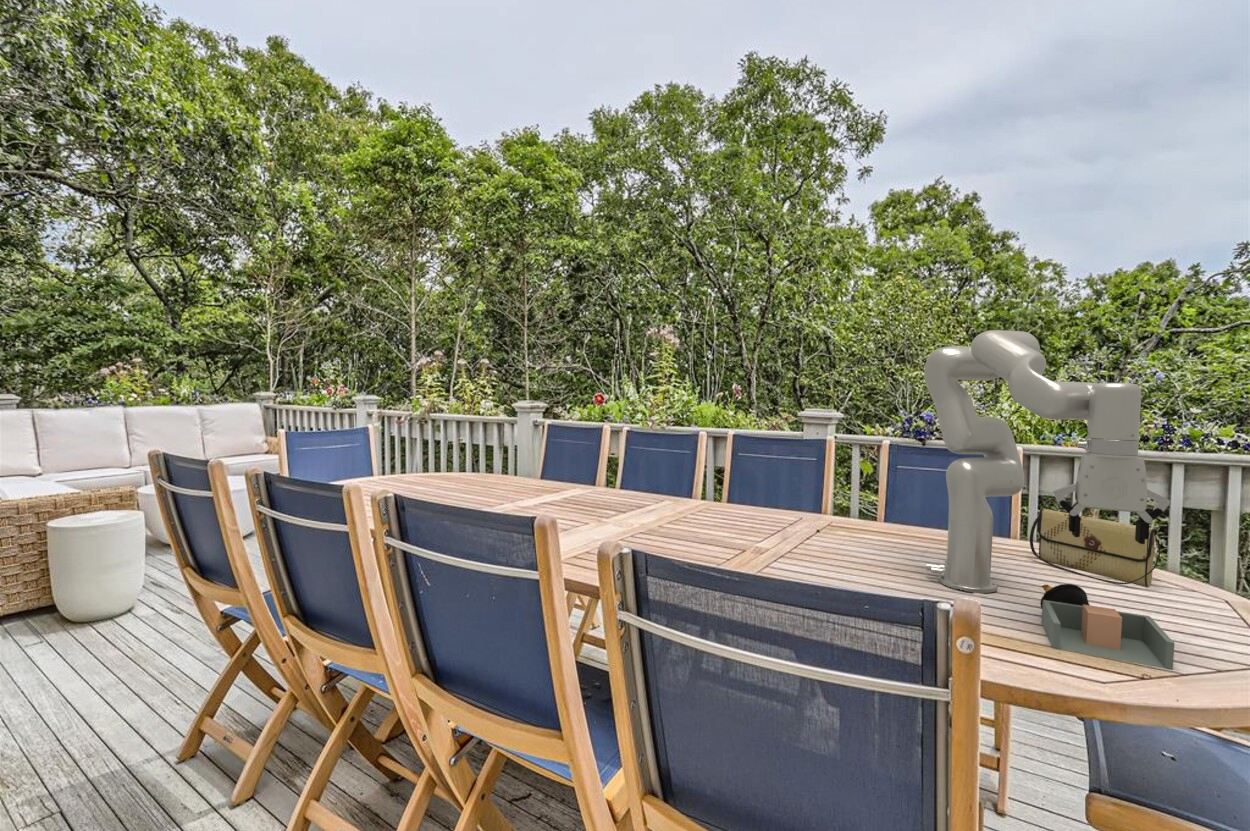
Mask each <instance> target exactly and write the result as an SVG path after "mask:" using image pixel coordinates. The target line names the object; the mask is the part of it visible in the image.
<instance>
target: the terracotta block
mask: <svg viewBox="0 0 1250 831" xmlns="http://www.w3.org/2000/svg"><path fill="white" fill-rule="evenodd" d="M1117 611H1118V610H1116V609H1115V608H1110V607H1104V606H1103V607H1102V606H1095V605H1091V604H1089V605H1084V604H1083V611H1082V627H1081V635H1082V637H1083V639H1084V640H1085V642H1086V644H1090V645H1095V646H1101V647H1107V648H1112V649H1118V650H1120V644H1121V628H1122V617H1121V616H1120V615H1119V613H1118V612H1117Z"/></svg>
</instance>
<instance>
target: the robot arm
mask: <svg viewBox="0 0 1250 831" xmlns="http://www.w3.org/2000/svg"><path fill="white" fill-rule="evenodd" d="M1040 351H1041V347H1040V342H1039V340H1038V339H1037V338H1036V336H1034V335H1033V334H1031V333H1030V332H1026V331H1022V330H1002V329H994V330H993V329H992V330H986V331H983V332H981V333H979V334H977V335H976V336H975V337H974V338H973V339H972V341H971V343H970V346H964V345H963V346H960V345H953V346H943V347H939V348H937V349H935V350H933V351H932V352H931V353H930V354H929V355H928V357H927V359H926V361H925V364H924V371H923V372H924V375H923V376H924V380H925V381H924V383H925V385H926V388H927V390H928V392H929V396H930V397H931V399H932V402H933V404H934V407H935V411H936V416H937V420H938V423H939V427H940V431H941V436H942V439H943V443H944V446H945V447H946V449H947V450H948V451H949V452H951V453H954V454H957V455H983V457H963V458H959V459H955V460H954V461H952V462H951V463H950V464H949V465H948V466H947V468H946V472H945V482H946V486H947V488H946V489H947V493H948V526H947V527H948V528H947V529H948V530H947V544H946V545H947V548H946V560H945V561H944V563H940V564H936V563H933V562H926V565H925V567H926V568H925V569H926V571H929V572H931V573H932V574H939V575H938V581H939V583H941V584H942V585H943V586H945V585H946V587H948V588H950V587H951V589H954V590H957V589H960V590H959V591H962V590H964V591H963V592H967V593H974V592H975V594H977V593H978V594H991V593H994V592H997V591H998V583H997V582H995V581H993V580H992V579H991V574H992V573H991V571H992V569H991V568H992V552H993V531H994V530H993V529H994V515H993V510H992V508H991V506H990V505H989V503H988V501H987V498H989V497H1011V496H1015V495H1017V494H1018V493H1020V491H1022V489H1023V487H1024V485H1025V484H1024V483H1025V474H1024V473H1025V472H1024V468H1023V465H1022V461H1021V458H1020V454H1019V451H1018V448H1017V444H1016V441H1015V437H1014V434H1013V432H1012V429H1011V428H1010V426H1009V425H1008V424H1007V422H1006V421H1004V420H1002V419H1001V418H999V417H993V416H980V415H978V413H977V412H976V409H975V407H974V406H975V405H974V403H973V400H972V397H971V395H970V394H969V393H968V391H967V389H966V388H964V386H962V385H961V384H960V383H959V382H958V381H959V380H960V381H961V380H962V381H991V380H995V379H998V378H1002V379H1003V380H1004V381H1006V382H1008V383H1007V384H1008V385H1007V386H1008V389H1009V392H1010V395H1011V397H1012V399H1013V400H1014V401H1015V402H1016V403H1017V404H1018V405H1020V406H1021V407H1023V408H1024V409H1026V410H1028V411H1029V412H1031V413H1032V414H1034V415H1036V416H1037V417H1040V418H1043V419H1047V420H1073V421H1087V436H1086V439H1085V440H1077V449H1082V450H1085V452H1086V453H1082V454H1081V457H1080V462H1079V465H1078V469H1077V474H1076V475H1077V476H1076V480H1075V481H1076V482H1075V483H1072V484H1069V485H1066V486H1063V487H1060V488H1057V489H1054V490H1053V491H1052V493H1053V495H1054V497H1055V499H1056V501H1057V503H1058V505H1059V506H1060V507H1061V508H1062V509H1064V510H1065V511H1066V513H1069V531H1070V532H1072V535H1073V536H1074V537H1080V521H1081V518H1080V517H1079V515H1080V513H1081V512H1083V511H1084V510H1085V509H1086V508H1088V509H1092V510H1093V509H1094V510H1105V511H1114V512H1115V511H1117V512H1128V513H1135V514H1136V516H1137V517H1138V519H1137V520H1136V521H1135V526H1136V531H1135V540H1136V541H1137V542H1138V543H1140V544H1145V539H1148V538H1149V528H1150V524H1152V522H1153V521H1154V520H1156V519H1157V518H1158V517H1160V516H1162V515H1163V513H1164V512H1165V511H1166V509H1167V508H1168V507H1169V506H1170V504H1171V500H1169V499H1168V498H1166V497H1165V496H1162V495H1160V494H1158V493H1156V492H1153V491H1151V490H1149V489H1148V482H1147V481H1148V480H1147V469H1146V468H1147V467H1146V464H1145V458H1143V457H1139V456H1138V455H1139V443H1140V441H1139V440H1140V425H1141V424H1140V422H1141V409H1142V408H1141V406H1142V404H1141V403H1142V389H1141V387H1140V385H1138V384H1136V383H1131V382H1099V383H1098V382H1089V381H1087V382H1086V381H1056V380H1055V381H1054V380H1052V379H1051V380H1050V379H1048V378H1047V377H1045V376H1043V374H1044V373H1045V371H1046V368H1047V359H1046V358H1045V356H1044V355H1043V353H1041V352H1040ZM1071 493H1074V499H1075V502H1074V503H1073V504H1072V505H1070V504H1069V503H1068V501H1067V500H1066V498H1065V496H1066V495H1068V494H1071ZM1148 498H1149V499H1151V500H1153V501H1155V506H1154V507H1152V508H1150V509H1149V510H1147V511H1146V509H1147V507H1148Z"/></svg>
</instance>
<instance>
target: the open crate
mask: <svg viewBox="0 0 1250 831" xmlns="http://www.w3.org/2000/svg"><path fill="white" fill-rule="evenodd" d="M1082 611H1083V606H1080V605H1074V604H1067V603H1061V602H1054V601H1047V600H1043V604H1042V609H1041V625H1042V627H1043V629H1044V631H1045V634H1046V636H1047V639H1048V641H1049V642H1050V646H1051V648H1052V649H1054V650H1062V651H1065V652H1071V653H1072V652H1073V653H1078V654H1083V655H1088V656H1094V657H1099V658H1106V659H1111V660H1114V661H1115V660H1116V661H1122V662H1125V663H1133V664H1139V665H1143V666H1147V667H1154V668H1160V669H1166V670H1171V671H1173V669H1174V667H1173V666H1174V656H1175V642H1174V641H1173V639H1171V637H1170V636H1169V635H1168V634H1167V633H1166V632H1165V631H1164V630H1163V629H1162V628H1161V627H1160V625H1158V623H1157V622H1156V621H1155V620H1154V619H1153V618H1152V617H1151V616H1150V615H1145V614H1138V613H1131V612H1127V611H1126V612H1125V611H1119V610H1116V611H1117V612H1118V613H1119V615H1120V616H1121V617H1122V628H1121V644H1120V650H1118V649H1112V648H1107V647H1101V646H1095V645H1090V644H1086V642H1085V640H1084V639H1083V637H1082V635H1081V627H1082Z"/></svg>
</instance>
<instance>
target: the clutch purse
mask: <svg viewBox="0 0 1250 831" xmlns="http://www.w3.org/2000/svg"><path fill="white" fill-rule="evenodd" d="M1079 517H1080V518H1081V521H1080V537H1074V536H1073V535H1072V532H1070V531H1069V513H1068V512H1062V511H1058V510H1052V509H1046V508H1041V509H1040V510H1039V512H1037V516H1036V518H1035V520H1034V521H1033V524H1032V526H1031V529H1030V532H1029V533H1030V534H1029V546H1030V549H1031V552H1032V554H1033V555H1034V556H1035V557H1036V558H1038V560H1040V561H1042V562H1044V563H1046V564H1047V565H1049V566H1052V567H1054V568H1057V569H1060V570H1063V571H1067V572H1070V573H1072V574H1075V575H1079V576H1082V577H1086V578H1089V579H1093V580H1096V581H1101V582H1106V583H1110V584H1115V585H1117V584H1118V585H1128V584H1131V583H1133V584H1136V585H1140V586H1144V587H1146V588H1150V586H1151V584H1152V581H1153V580H1152V579H1153V573H1154V572H1153V571H1154V570H1155V569H1156V567H1157V565H1158V563H1159V559H1160V556H1161V553H1162V552H1161V549H1162V548H1161V544H1160V537H1159V536H1158V531H1157V529H1156V528H1152V527H1151V528H1150V527H1149V538H1148V539H1145V544H1140V543H1138V542H1137V541H1136V540H1135V531H1136V524H1135V525H1133V524H1129V523H1122V522H1118V521H1112V520H1108V519H1107V520H1106V519H1101V518H1096V517H1090V516H1085V515H1080V514H1079ZM1036 527H1037V532H1038V536H1039V543H1038V553H1037V552H1036V550H1035V548H1034V534H1035V529H1036ZM1155 542H1157V546H1158V555H1157V558H1156V562H1155V563H1154V556H1155V555H1154V554H1155ZM1054 563H1055V564H1054ZM1057 563H1058V565H1057ZM1061 564H1062V566H1066V567H1070V568H1074V569H1078V570H1082V571H1086V572H1089V573H1093V574H1098V575H1100V576H1101V575H1102V576H1105V577H1109V578H1112V579H1116V580H1121V581H1124V582H1121V581H1115V580H1114V581H1113V580H1109V579H1104V578H1103V579H1102V578H1098V577H1094V576H1090V575H1088V574H1084V573H1081V572H1077V571H1075V570H1071V569H1068V568H1065V567H1062V566H1059V565H1061Z"/></svg>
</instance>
